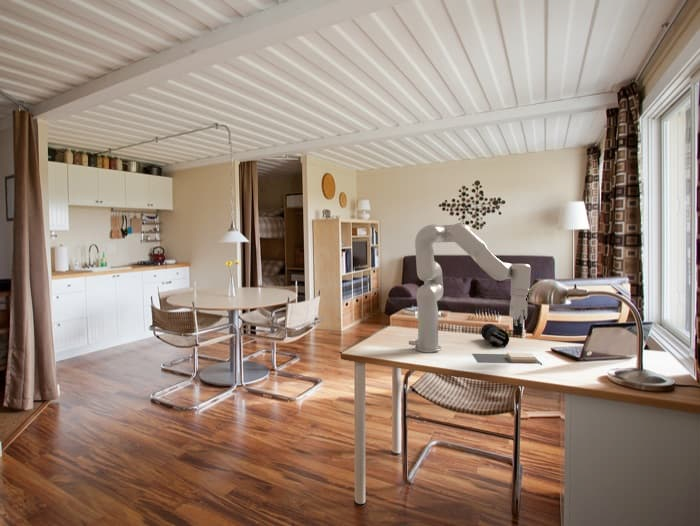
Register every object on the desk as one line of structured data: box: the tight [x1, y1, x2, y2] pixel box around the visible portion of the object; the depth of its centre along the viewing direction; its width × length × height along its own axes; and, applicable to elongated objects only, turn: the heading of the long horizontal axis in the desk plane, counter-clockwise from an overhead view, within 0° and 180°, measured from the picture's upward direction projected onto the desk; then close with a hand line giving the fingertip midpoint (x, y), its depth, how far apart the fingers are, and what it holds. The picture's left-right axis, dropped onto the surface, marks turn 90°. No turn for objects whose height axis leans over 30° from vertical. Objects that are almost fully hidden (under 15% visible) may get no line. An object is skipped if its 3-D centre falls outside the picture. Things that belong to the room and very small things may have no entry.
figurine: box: [480, 323, 510, 348], centre depth 207 cm, size 9×9×20 cm
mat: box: [471, 353, 543, 366], centre depth 178 cm, size 26×14×1 cm, turn 83°
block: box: [506, 351, 537, 362], centre depth 176 cm, size 10×2×7 cm
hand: (517, 334), depth 177 cm, fingers closed
